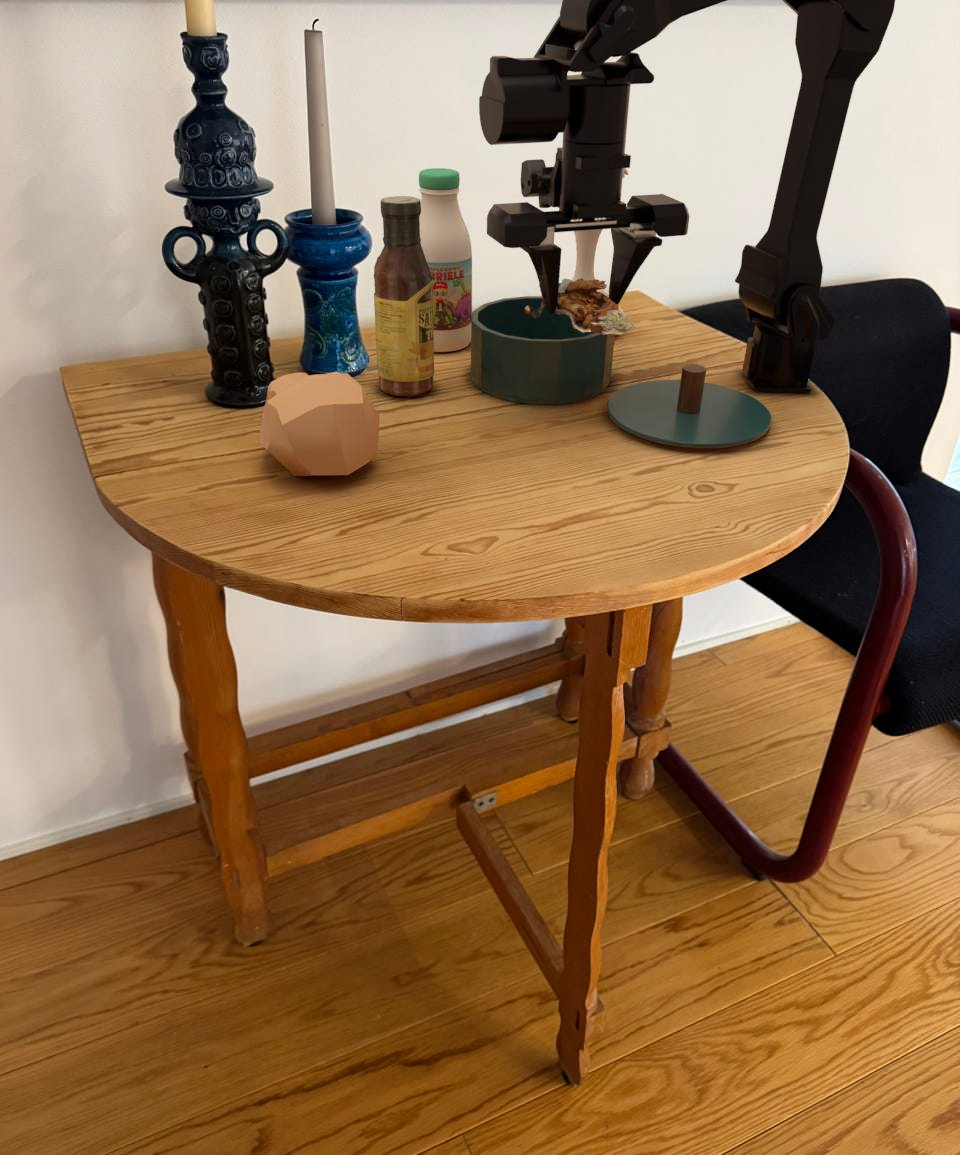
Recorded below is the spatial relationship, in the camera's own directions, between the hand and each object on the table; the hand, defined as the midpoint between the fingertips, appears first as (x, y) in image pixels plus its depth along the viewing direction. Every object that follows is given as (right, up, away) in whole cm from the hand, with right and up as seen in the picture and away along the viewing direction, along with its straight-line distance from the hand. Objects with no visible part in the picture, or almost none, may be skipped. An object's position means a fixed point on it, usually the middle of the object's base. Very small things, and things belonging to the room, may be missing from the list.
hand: (582, 309), depth 95 cm
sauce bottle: (-18, -6, +11) cm, 22 cm away
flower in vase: (+3, +6, +29) cm, 30 cm away
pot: (-3, -4, +14) cm, 15 cm away
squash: (-27, -14, -2) cm, 30 cm away
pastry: (+1, -1, +1) cm, 1 cm away
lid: (+12, -10, +4) cm, 16 cm away
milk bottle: (-15, +2, +23) cm, 28 cm away
